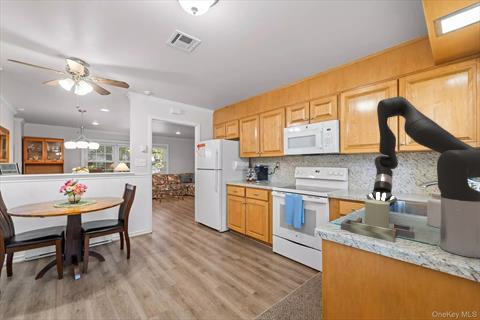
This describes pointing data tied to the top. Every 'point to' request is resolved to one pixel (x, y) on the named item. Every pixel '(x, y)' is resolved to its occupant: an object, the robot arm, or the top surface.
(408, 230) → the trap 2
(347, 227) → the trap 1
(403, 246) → the top surface
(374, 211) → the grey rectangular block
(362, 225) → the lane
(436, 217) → the pill bottle
